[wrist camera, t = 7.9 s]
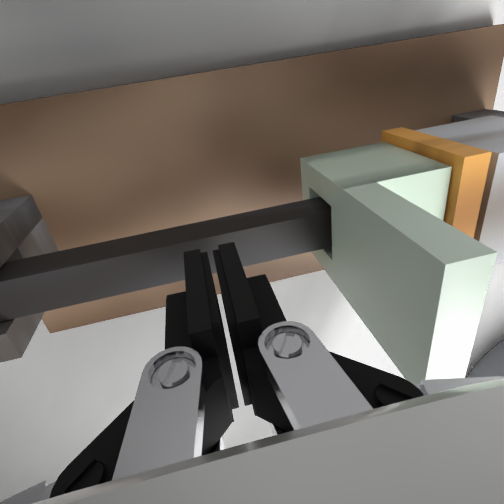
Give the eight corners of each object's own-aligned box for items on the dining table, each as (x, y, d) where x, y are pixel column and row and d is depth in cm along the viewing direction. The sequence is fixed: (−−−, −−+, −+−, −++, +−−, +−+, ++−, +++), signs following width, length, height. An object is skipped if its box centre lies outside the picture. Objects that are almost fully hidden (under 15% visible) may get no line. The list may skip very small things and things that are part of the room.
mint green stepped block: (379, 227, 18) (550, 363, 10) (305, 244, 17) (421, 400, 9) (384, 141, 16) (611, 225, 8) (300, 158, 15) (445, 264, 7)
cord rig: (456, 230, 24) (584, 304, 16) (55, 322, 21) (-9, 463, 14) (494, 25, 18) (721, -3, 10) (-61, 114, 15) (-290, 163, 8)
